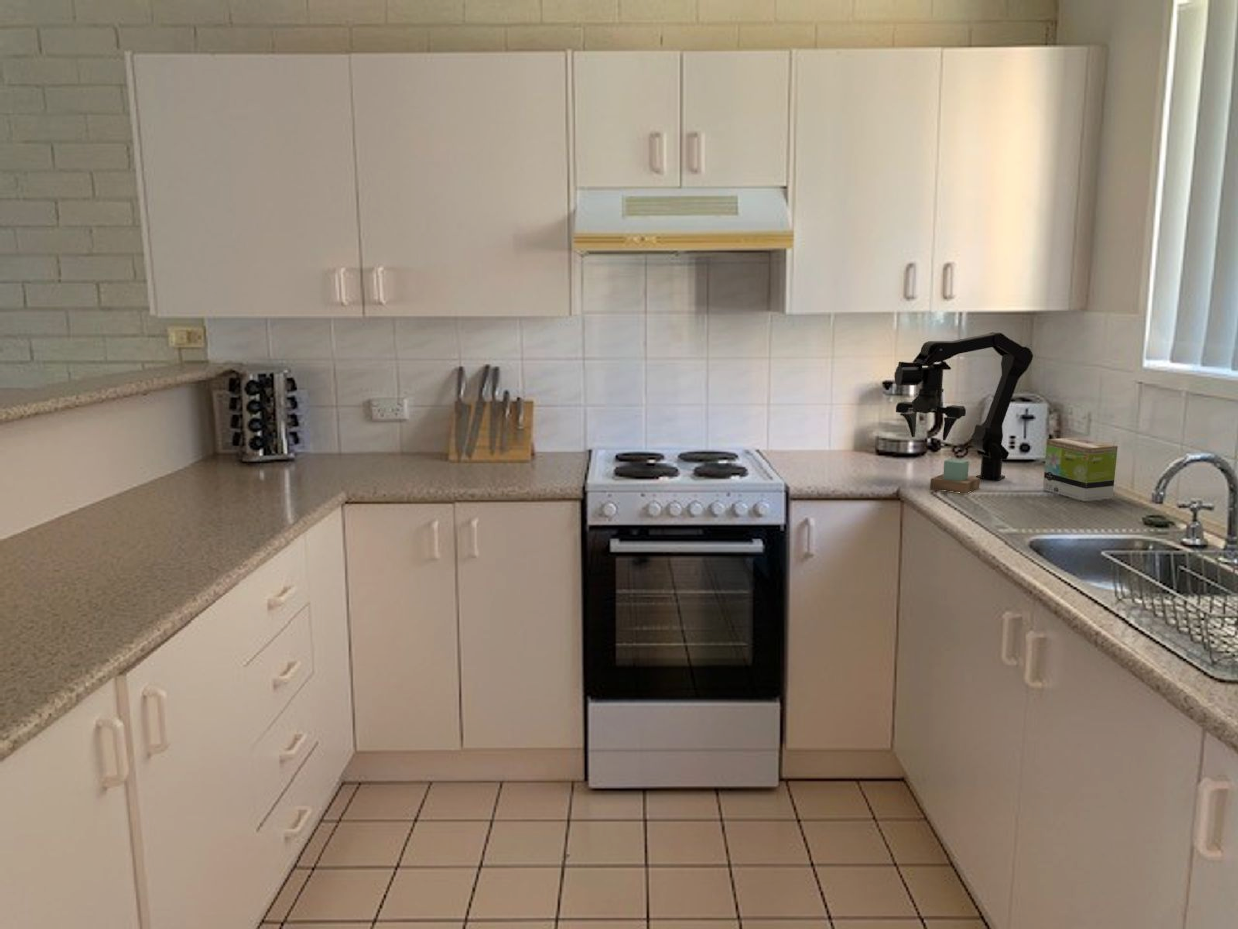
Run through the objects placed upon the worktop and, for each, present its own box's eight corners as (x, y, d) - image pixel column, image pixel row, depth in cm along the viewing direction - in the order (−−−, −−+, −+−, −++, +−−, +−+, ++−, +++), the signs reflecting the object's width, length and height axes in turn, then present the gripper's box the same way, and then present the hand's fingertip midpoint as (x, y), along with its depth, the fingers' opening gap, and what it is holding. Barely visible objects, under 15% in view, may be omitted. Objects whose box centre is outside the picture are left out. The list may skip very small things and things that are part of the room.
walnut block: (944, 485, 265) (944, 473, 264) (979, 490, 258) (980, 478, 258) (929, 490, 257) (930, 478, 257) (965, 496, 251) (966, 483, 250)
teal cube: (949, 476, 260) (951, 458, 259) (967, 478, 257) (968, 460, 256) (943, 478, 256) (944, 461, 256) (960, 481, 253) (962, 463, 252)
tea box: (1041, 491, 255) (1045, 438, 252) (1069, 488, 258) (1074, 436, 256) (1084, 502, 241) (1089, 446, 238) (1114, 499, 244) (1119, 444, 242)
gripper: (889, 385, 266) (886, 438, 268) (953, 389, 254) (949, 445, 257) (905, 382, 274) (902, 434, 277) (968, 386, 262) (964, 440, 265)
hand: (928, 438), depth 269 cm, fingers open, 9 cm apart
